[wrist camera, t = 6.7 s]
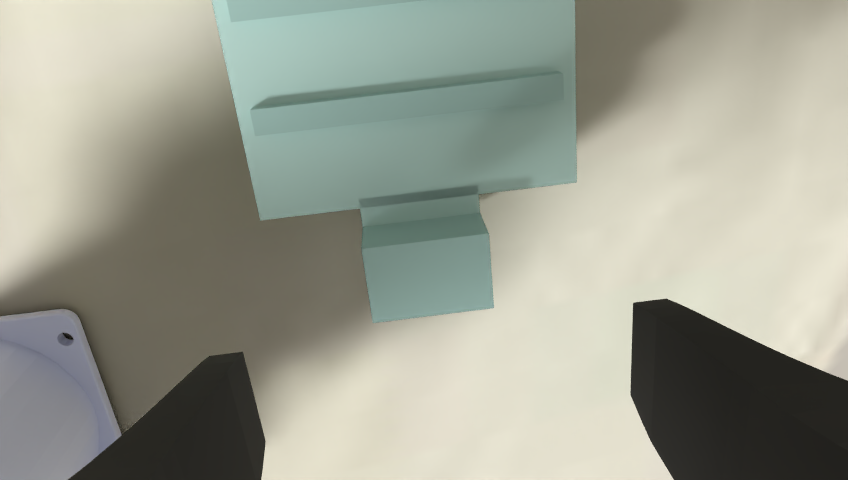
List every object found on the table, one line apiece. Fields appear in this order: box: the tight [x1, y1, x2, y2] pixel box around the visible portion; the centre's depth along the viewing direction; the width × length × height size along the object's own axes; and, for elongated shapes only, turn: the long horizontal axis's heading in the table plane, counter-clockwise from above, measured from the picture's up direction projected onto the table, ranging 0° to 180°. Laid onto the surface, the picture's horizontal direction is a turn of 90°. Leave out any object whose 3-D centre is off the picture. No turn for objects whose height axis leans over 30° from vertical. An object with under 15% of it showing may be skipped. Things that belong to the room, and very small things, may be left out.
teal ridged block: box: [212, 0, 577, 323], centre depth 16 cm, size 12×8×6 cm, turn 6°
